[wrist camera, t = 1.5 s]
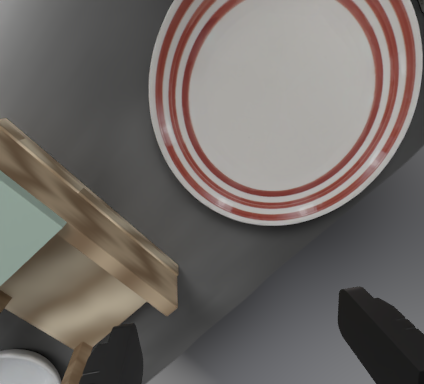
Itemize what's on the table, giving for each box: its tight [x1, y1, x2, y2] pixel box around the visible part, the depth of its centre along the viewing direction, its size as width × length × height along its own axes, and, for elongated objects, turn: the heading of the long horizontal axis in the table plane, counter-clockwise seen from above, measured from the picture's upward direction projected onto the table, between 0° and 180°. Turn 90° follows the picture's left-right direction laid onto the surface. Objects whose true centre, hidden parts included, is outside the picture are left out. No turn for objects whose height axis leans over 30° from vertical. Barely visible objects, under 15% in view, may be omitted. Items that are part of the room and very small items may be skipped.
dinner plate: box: [149, 0, 423, 226], centre depth 28 cm, size 28×27×3 cm
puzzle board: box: [0, 118, 178, 384], centre depth 28 cm, size 24×16×7 cm
